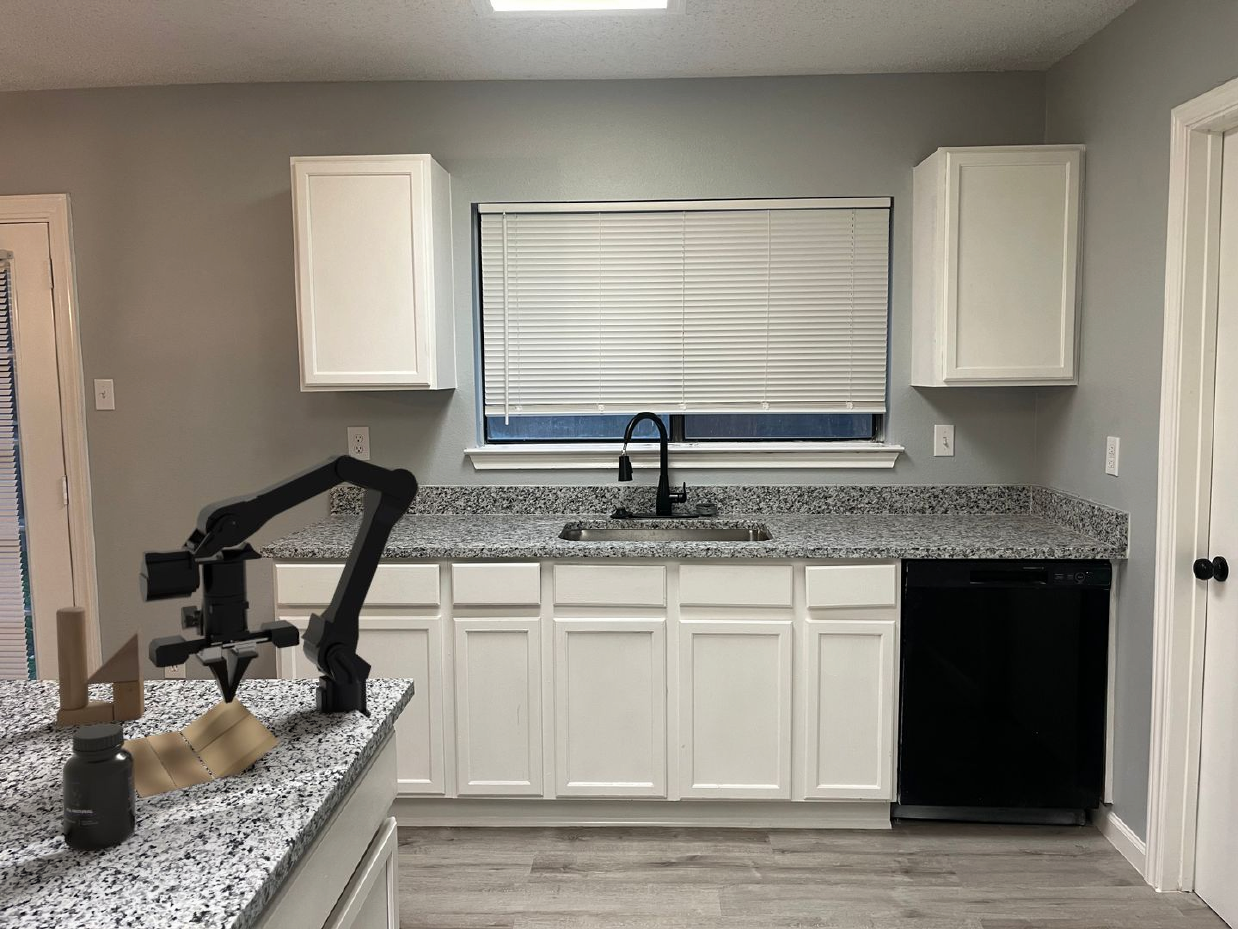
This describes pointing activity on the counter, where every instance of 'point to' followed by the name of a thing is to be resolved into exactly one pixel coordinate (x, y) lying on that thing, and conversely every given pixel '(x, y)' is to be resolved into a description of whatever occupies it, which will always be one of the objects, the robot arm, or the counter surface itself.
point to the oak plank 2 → (238, 747)
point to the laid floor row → (165, 764)
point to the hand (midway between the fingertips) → (228, 702)
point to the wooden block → (96, 675)
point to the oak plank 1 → (214, 723)
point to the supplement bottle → (98, 789)
